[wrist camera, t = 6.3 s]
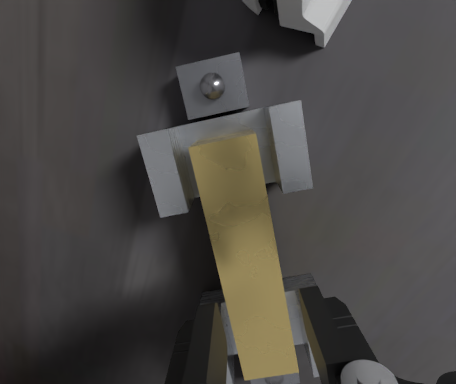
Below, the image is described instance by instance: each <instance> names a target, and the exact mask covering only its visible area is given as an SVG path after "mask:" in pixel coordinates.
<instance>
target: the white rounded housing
mask: <svg viewBox="0 0 456 384" xmlns="http://www.w3.org/2000/svg"><path fill="white" fill-rule="evenodd" d="M242 1H243V2H244V3H245V4H246V6H247V7H249V8H250V9H251V10H252V11H253V12H255V13H256V14H257V15H259V13H260V12H261V10H262V8H263V9H266V10H268V8H269V6H270V4H271V2H272V0H242ZM351 1H352V0H273V4H274V11H275V14H276V15H279V22H280V26H283V27H287V28H292V29H296V30H300V31H304V32H308V33H313V34H314V36H315V45H317V46H320V47H323V48H324V47H325V46H326V44H327V42H328V40H329V39H330V37H331V35H332V34H333V32H334V30H335V28H336V27H337V25H338V23H339V22H340V20H341V18H342V16H343V15H344V13H345V11H346V10H347V8H348V6H349V4H350V3H351Z"/></svg>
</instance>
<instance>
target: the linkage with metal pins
mask: <svg viewBox="0 0 456 384" xmlns="http://www.w3.org/2000/svg"><path fill="white" fill-rule="evenodd" d="M176 71H177V75H178V79H179V83H180V88H181V92H182V96H183V100H184V104H185V109H186V113H187V117H188V120H191V119H196V118H200V117H205V116H209V115H214V114H219V113H223V112H228V111H232V110H237V109H242V108H246V107H249V102H248V96H247V91H246V86H245V80H244V75H243V69H242V64H241V58H240V53H239V52H237V53H233V54H228V55H224V56H220V57H215V58H211V59H207V60H202V61H198V62H194V63H190V64H185V65H181V66H177V67H176ZM251 129H252V130H253V131H254V132H255V133H256V136H257V141H258V147H259V152H260V158H261V164H262V169H263V175H264V180H265V184H266V183H271V182H276V183H277V184H278V186H279V188H280V189H281V191H282V193H283V194H285V193H290V192H295V191H301V190H306V189H311V188H313V184H312V177H311V170H310V163H309V155H308V148H307V141H306V134H305V127H304V119H303V112H302V105H301V100H298V101H293V102H287V103H282V104H277V105H272V106H268V107H263V108H259V109H254V110H249V111H245V112H240V113H236V114H231V115H226V116H222V117H217V118H213V119H208V120H203V121H199V122H194V123H190V124H185V125H180V126H176V127H171V128H167V129H162V130H158V131H154V132H150V133H146V134H142V135H138V136H137V138H138V142H139V145H140V149H141V152H142V156H143V159H144V163H145V166H146V170H147V173H148V177H149V180H150V184H151V187H152V191H153V194H154V198H155V201H156V205H157V208H158V212H159V215H160V218H162V217H167V216H172V215H177V214H183V213H188V212H189V210H190V208H191V205H192V203H193V201H194V199H195V198H196V197H200V194H199V190H198V186H197V182H196V178H195V174H194V170H193V165H192V161H191V157H190V153H189V149H188V147H190V146H191V145H192V144H193V143H195V142H196V141H199V140H203V139H208V138H213V137H218V136H222V135H227V134H232V133H237V132H241V131H246V130H251ZM282 281H283V286H284V292H285V297H286V303H287V308H288V314H289V320H290V325H291V331H292V336H293V342H294V345H298V344H304V346H305V349H306V353H307V356H308V359H309V363H310V366H311V369H312V373H313V376H314V377H320V376H319V373H318V370H317V367H316V364H315V361H314V357H313V354H312V351H311V348H310V345H309V342H308V338H307V335H306V331H305V326H304V321H303V315H302V310H301V304H300V298H299V292H298V289H299V288H305V287H311V286H317V285H316V283H315V280H314V278H313V276H312V274H305V275H300V276H294V277H288V278H283V279H282ZM215 302H216V303H217V304H218V308H219V311H220V315H221V319H222V323H223V327H224V331H225V335H226V341H227V377H226V384H234V354H238V351H237V347H236V343H235V339H234V335H233V331H232V327H231V322H230V318H229V314H228V310H227V306H226V302H225V298H224V294H223V289H219V290H214V291H208V292H202V295H201V301H200V305H204V304H210V303H215ZM250 381H251V384H296V383H300V379H299V374H298V373H292V374H285V375H279V376H272V377H265V378H258V379H251V380H250Z"/></svg>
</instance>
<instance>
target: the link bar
mask: <svg viewBox="0 0 456 384" xmlns="http://www.w3.org/2000/svg"><path fill="white" fill-rule="evenodd" d="M188 149H189V153H190V157H191V161H192V165H193V170H194V174H195V178H196V182H197V186H198V190H199V194H200V198H201V203H202V207H203V211H204V215H205V219H206V223H207V227H208V232H209V236H210V240H211V244H212V248H213V252H214V256H215V260H216V265H217V269H218V273H219V277H220V281H221V285H222V289H223V294H224V298H225V302H226V306H227V310H228V314H229V318H230V322H231V327H232V331H233V335H234V339H235V343H236V347H237V351H238V356H239V360H240V364H241V368H242V372H243V376H244V380H251V379H258V378H265V377H272V376H279V375H285V374H292V373H299V370H298V364H297V359H296V353H295V347H294V342H293V336H292V331H291V325H290V320H289V314H288V308H287V303H286V297H285V292H284V286H283V281H282V275H281V269H280V264H279V258H278V253H277V247H276V242H275V236H274V230H273V225H272V219H271V214H270V208H269V203H268V197H267V191H266V186H265V180H264V175H263V169H262V164H261V158H260V152H259V147H258V141H257V136H256V133H255V132H254V131H253V130H252V129H251V130H246V131H241V132H237V133H232V134H227V135H222V136H218V137H213V138H208V139H203V140H199V141H196V142H195V143H193V144H192V145H191V146H190V147H188Z"/></svg>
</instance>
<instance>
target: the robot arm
mask: <svg viewBox="0 0 456 384" xmlns="http://www.w3.org/2000/svg"><path fill="white" fill-rule="evenodd" d="M298 292H299V298H300V304H301V310H302V315H303V321H304V326H305V331H306V335H307V338H308V342H309V345H310V348H311V351H312V354H313V357H314V361H315V364H316V367H317V370H318V373H319V376H320V380H321V383H322V384H422V383H415V382H410V381H406V380H403V379H400V378H398V377H396V376H394V375H393V373H392V372H391V371H390V370H389V369H387V368H386V367H385V366H383V365H381V364H380V363H379V362H378V360H377V359H376V357H375V355H374V354H373V352H372V350H371V348H370V347H369V345H368V343H367V341H366V340H365V338H364V336H363V334H362V333H361V331H360V329H359V327H358V326H357V324H356V322H355V320H354V319H353V317H352V315H351V313H350V312H349V310H348V308H347V306H346V305H345V304H344V303H343V302H341V301H340V300H339V299H337V298H336V297H330V298H323V296H322V294H321V292H320V290H319V288H318V286H311V287H305V288H299V289H298ZM226 377H227V341H226V335H225V331H224V327H223V323H222V319H221V315H220V311H219V308H218V304H217V303H216V302H215V303H210V304H204V305H198V307H197V311H196V316H195V320H190V321H186V322H185V323H184V325H183V326H182V328H181V329H180V330H179V332H178V335H177V339H176V345H175V347H174V350H173V355H172V358H171V362H170V365H169V369H168V373H167V377H166V381H165V384H226ZM436 384H456V371H454V372H448V373H445V374H443V375H442V376H440V377H439V379H438V380H437V383H436Z"/></svg>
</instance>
